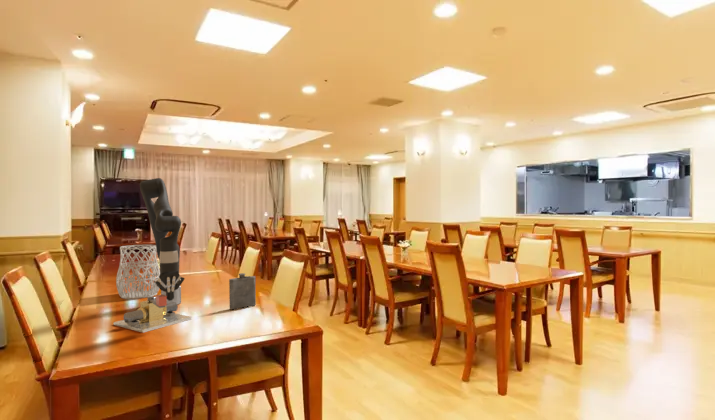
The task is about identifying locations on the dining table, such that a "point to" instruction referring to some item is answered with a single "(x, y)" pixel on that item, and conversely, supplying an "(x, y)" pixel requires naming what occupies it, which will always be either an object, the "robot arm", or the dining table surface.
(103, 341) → the dining table surface
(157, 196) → the robot arm
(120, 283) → the vase
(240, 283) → the flask
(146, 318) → the valve
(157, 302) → the lever
